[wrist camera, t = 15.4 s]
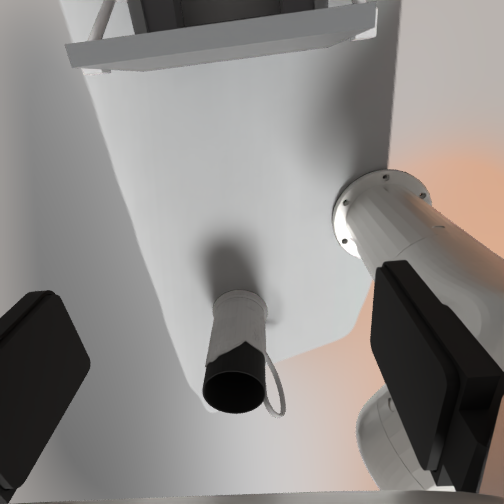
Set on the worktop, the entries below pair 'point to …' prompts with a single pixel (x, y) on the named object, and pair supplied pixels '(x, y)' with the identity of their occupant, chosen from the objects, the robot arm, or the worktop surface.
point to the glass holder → (239, 356)
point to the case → (217, 35)
